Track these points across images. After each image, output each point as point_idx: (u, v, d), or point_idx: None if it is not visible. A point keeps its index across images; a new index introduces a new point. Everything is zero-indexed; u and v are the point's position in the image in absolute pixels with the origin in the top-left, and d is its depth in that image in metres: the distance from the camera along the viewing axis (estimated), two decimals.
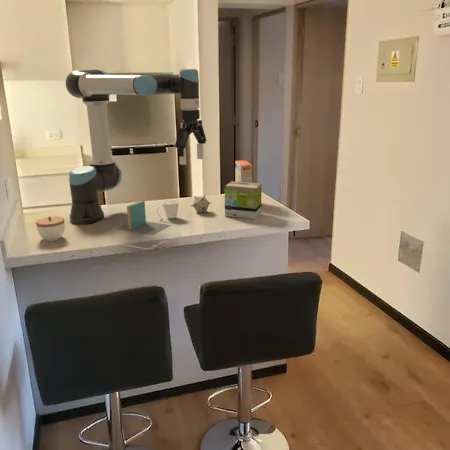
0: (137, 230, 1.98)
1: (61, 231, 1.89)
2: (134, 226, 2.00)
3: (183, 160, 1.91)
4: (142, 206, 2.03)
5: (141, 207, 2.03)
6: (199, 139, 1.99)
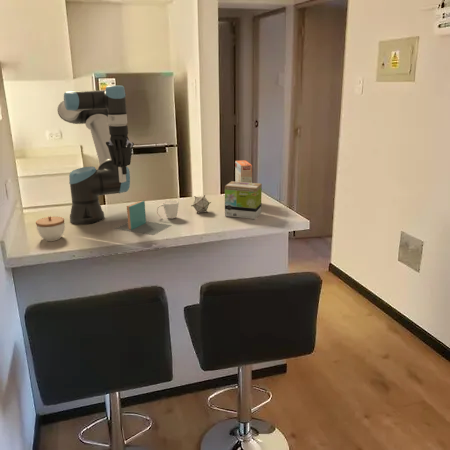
0: (137, 230, 1.98)
1: (61, 231, 1.89)
2: (134, 226, 2.00)
3: None
4: (142, 206, 2.03)
5: (141, 207, 2.03)
6: None
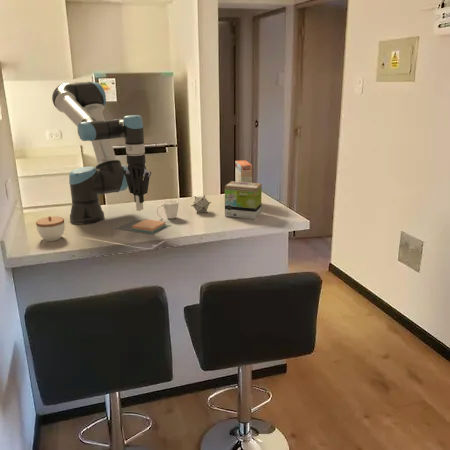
0: None
1: (61, 231, 1.89)
2: None
3: None
4: None
5: None
6: None
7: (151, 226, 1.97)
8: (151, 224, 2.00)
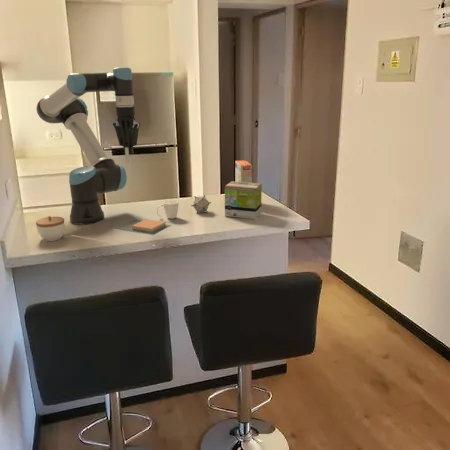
0: None
1: (61, 231, 1.89)
2: None
3: None
4: None
5: None
6: None
7: (151, 226, 1.97)
8: (151, 224, 2.00)
